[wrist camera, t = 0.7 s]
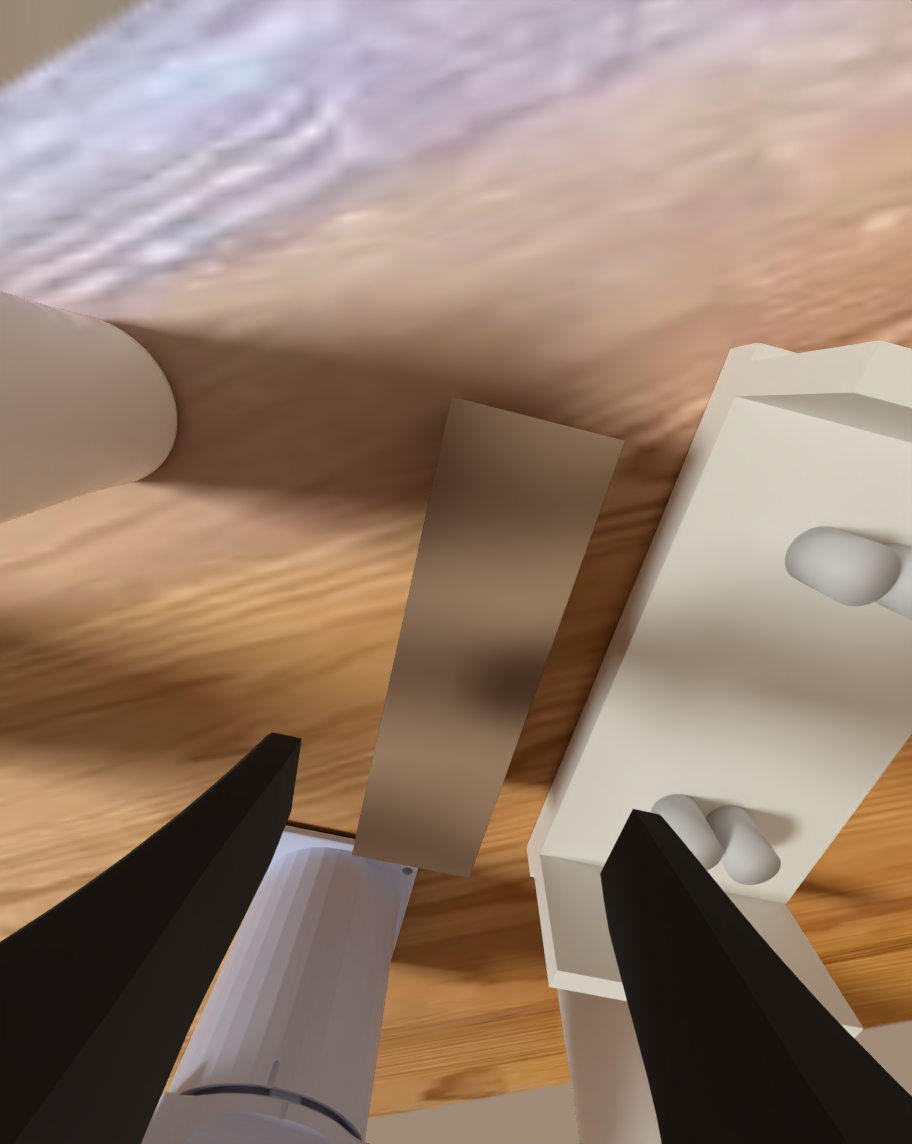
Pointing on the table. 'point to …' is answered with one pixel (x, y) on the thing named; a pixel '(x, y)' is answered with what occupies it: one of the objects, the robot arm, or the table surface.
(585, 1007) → the cylindrical container
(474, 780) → the brown wooden bar
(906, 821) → the table surface
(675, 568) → the shelf stand
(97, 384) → the drinking glass
